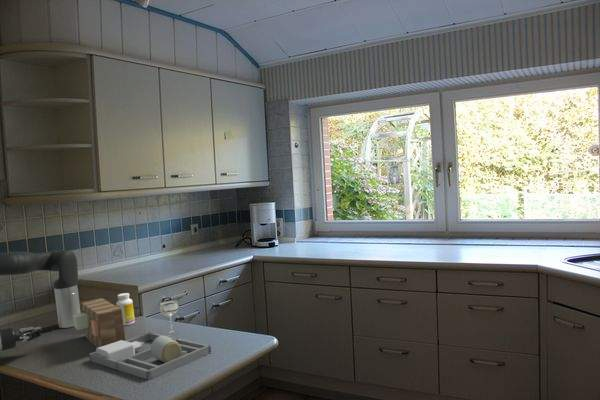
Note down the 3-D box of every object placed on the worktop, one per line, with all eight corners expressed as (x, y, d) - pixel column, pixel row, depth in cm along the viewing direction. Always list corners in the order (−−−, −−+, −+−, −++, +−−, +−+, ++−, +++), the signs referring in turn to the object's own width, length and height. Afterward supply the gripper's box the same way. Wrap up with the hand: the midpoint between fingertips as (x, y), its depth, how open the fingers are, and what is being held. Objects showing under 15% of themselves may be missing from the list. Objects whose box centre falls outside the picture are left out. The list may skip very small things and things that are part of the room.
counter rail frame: (89, 360, 172) (89, 353, 172) (150, 338, 190) (149, 332, 190) (148, 379, 150) (147, 371, 150) (211, 352, 168) (210, 345, 168)
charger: (150, 351, 177) (109, 366, 166) (137, 347, 183) (97, 361, 172) (149, 338, 176) (108, 351, 165) (136, 334, 183) (95, 347, 172)
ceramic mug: (163, 367, 159) (161, 343, 159) (151, 362, 165) (149, 338, 165) (192, 357, 166) (190, 334, 166) (180, 352, 172) (177, 330, 172)
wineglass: (162, 332, 197) (158, 302, 196) (179, 329, 199) (176, 299, 199) (164, 337, 191) (161, 306, 190) (182, 333, 193) (179, 302, 193)
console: (85, 336, 202) (81, 302, 201) (105, 331, 207) (101, 298, 206) (103, 353, 179) (98, 314, 178) (126, 346, 184) (121, 309, 183)
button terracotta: (92, 333, 185) (90, 320, 185) (106, 330, 188) (104, 317, 188) (95, 336, 181) (94, 323, 181) (110, 333, 184) (108, 319, 184)
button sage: (74, 327, 197) (73, 315, 196) (88, 324, 199) (86, 311, 199) (77, 330, 192) (75, 317, 192) (91, 326, 195) (89, 314, 195)
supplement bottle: (137, 321, 218) (134, 291, 218) (131, 325, 212) (127, 295, 211) (123, 322, 219) (119, 292, 219) (116, 326, 213) (112, 296, 212)
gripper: (-1, 333, 174) (54, 321, 184) (-4, 326, 185) (48, 315, 195) (2, 355, 175) (56, 341, 185) (-1, 346, 186) (50, 334, 195)
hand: (52, 327), depth 190 cm, fingers closed
